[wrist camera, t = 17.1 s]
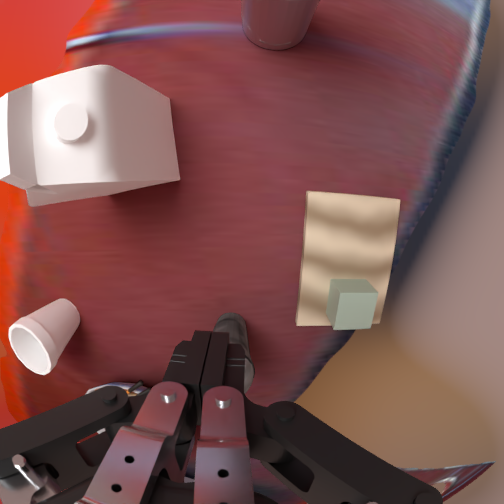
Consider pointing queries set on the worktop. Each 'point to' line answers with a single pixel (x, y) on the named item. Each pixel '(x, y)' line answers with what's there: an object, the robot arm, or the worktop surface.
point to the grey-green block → (351, 304)
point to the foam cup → (44, 335)
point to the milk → (86, 136)
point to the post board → (344, 249)
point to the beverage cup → (237, 341)
